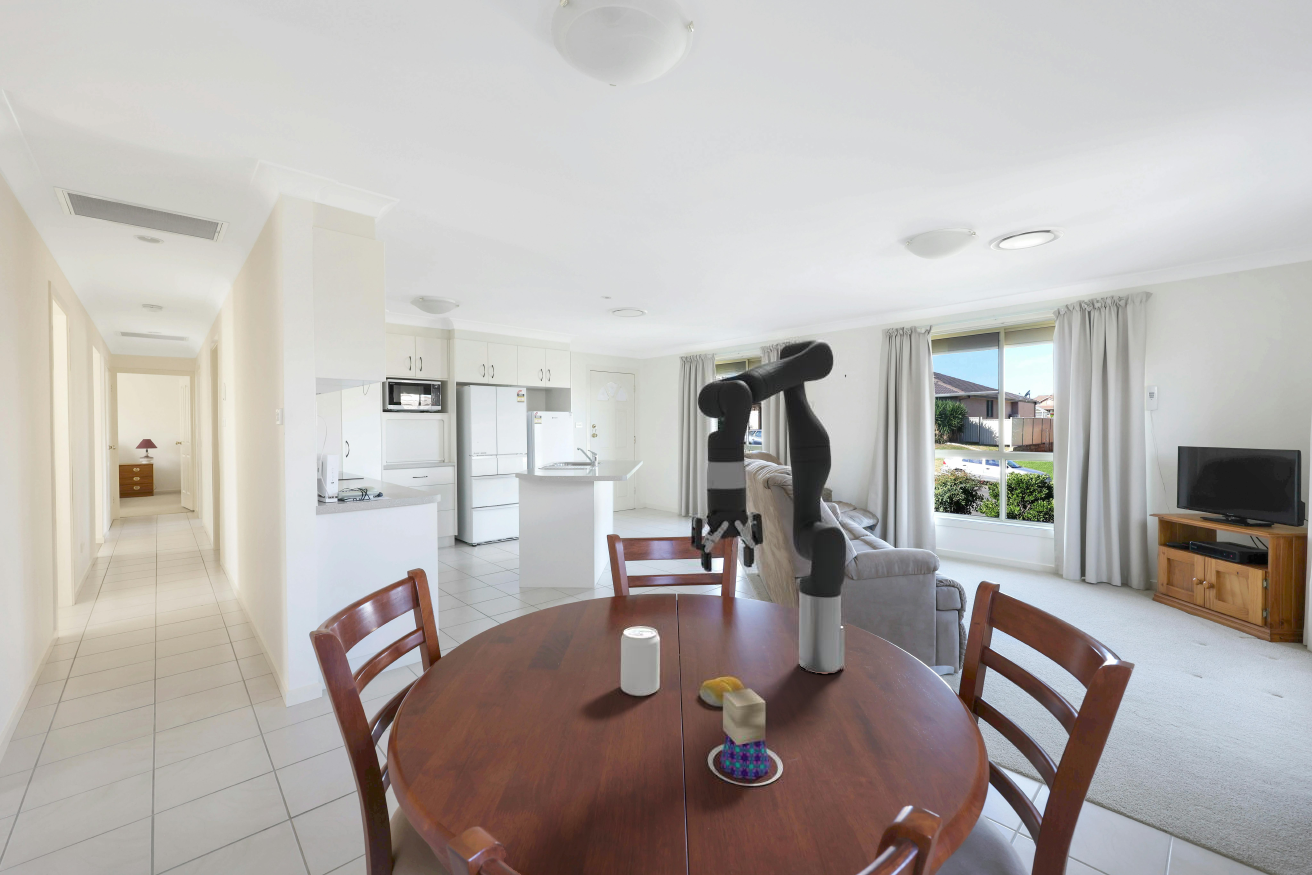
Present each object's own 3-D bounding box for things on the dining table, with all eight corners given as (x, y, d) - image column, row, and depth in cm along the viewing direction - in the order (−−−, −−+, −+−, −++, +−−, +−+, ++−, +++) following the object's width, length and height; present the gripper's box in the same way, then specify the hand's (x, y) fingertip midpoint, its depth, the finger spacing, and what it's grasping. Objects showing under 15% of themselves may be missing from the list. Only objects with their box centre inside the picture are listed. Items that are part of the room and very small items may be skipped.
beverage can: (655, 699, 111) (655, 640, 111) (616, 695, 113) (616, 637, 113) (662, 682, 119) (663, 626, 119) (626, 679, 121) (626, 624, 121)
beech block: (749, 724, 93) (750, 688, 93) (765, 739, 88) (765, 701, 88) (722, 729, 91) (723, 692, 91) (736, 744, 86) (737, 706, 86)
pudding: (781, 750, 94) (781, 719, 94) (784, 794, 82) (785, 759, 82) (710, 742, 96) (711, 712, 96) (704, 785, 85) (704, 750, 85)
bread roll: (753, 700, 112) (753, 680, 112) (718, 712, 107) (719, 691, 107) (726, 684, 119) (726, 666, 119) (693, 695, 114) (693, 675, 114)
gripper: (750, 481, 112) (751, 561, 113) (684, 485, 108) (686, 568, 108) (768, 484, 105) (770, 569, 105) (700, 488, 101) (701, 577, 101)
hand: (727, 568), depth 107 cm, fingers open, 8 cm apart
